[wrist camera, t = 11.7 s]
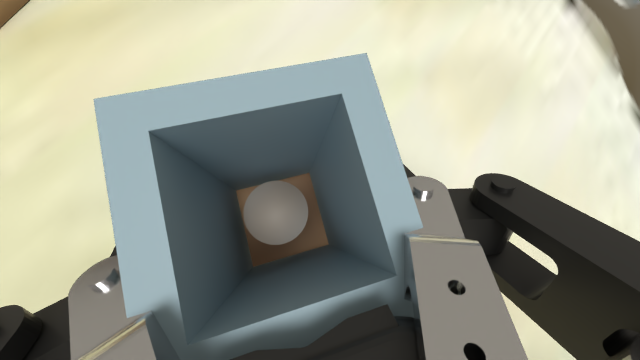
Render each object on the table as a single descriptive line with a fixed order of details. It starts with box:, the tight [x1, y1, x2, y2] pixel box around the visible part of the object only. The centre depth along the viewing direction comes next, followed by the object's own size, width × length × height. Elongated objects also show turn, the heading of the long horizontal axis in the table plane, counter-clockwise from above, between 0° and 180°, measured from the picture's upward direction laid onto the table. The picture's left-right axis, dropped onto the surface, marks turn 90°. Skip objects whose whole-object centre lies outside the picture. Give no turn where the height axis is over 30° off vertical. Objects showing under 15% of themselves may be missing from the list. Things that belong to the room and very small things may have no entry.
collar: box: [94, 53, 423, 360], centre depth 10 cm, size 6×6×9 cm
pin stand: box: [236, 173, 329, 267], centre depth 13 cm, size 10×10×8 cm
